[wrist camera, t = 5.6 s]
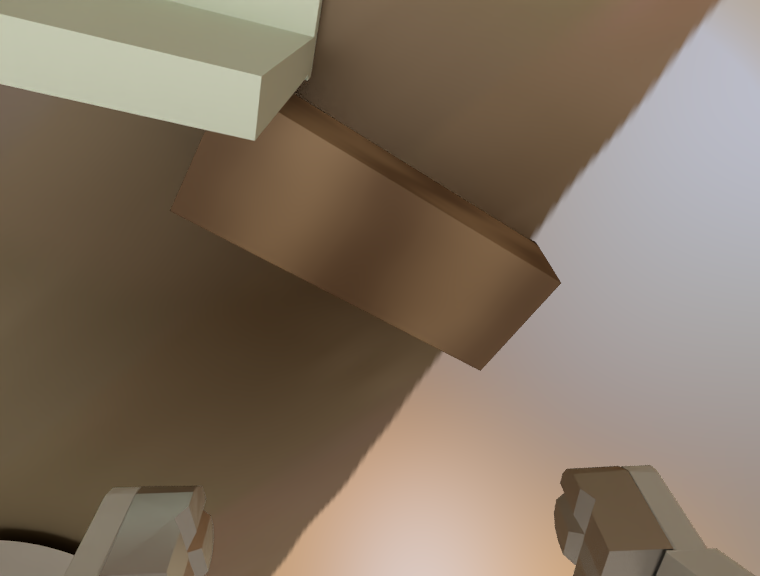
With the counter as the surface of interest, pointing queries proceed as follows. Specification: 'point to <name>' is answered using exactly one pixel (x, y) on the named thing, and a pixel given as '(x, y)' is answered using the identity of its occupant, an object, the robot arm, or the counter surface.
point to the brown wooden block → (368, 231)
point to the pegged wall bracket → (164, 56)
